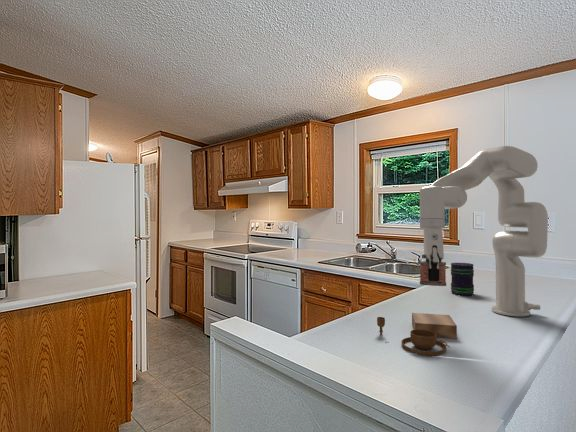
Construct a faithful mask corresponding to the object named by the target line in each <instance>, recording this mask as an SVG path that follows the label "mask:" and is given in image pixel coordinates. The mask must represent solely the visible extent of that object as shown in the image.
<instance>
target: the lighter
mask: <svg viewBox="0 0 576 432" xmlns="http://www.w3.org/2000/svg"><path fill="white" fill-rule="evenodd" d="M430 256H431V255H430ZM438 256H439V255H438ZM421 259H425V261H424V260H423V261H422V260H421V261H419V263H418V264H419V279H420V281H419V285H421V286H432V287H447V281H446V278H447V277H446V274H447V273H446V267H447V266H446V265H447V261H442V260H441V259H440V257H438V262H439V281H438V282H437V281H429V280H428V269H429V261H428V258H426V255H425V254H421ZM431 259H433V258H431ZM431 262H432V261H431Z"/></svg>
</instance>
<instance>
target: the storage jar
mask: <svg viewBox="0 0 576 432" xmlns="http://www.w3.org/2000/svg"><path fill="white" fill-rule="evenodd" d="M450 275H451V282H450V291H451V294H452V295H454V294H455V296H458V295H460V296H459V297H473V296H474V293H475V292H474V291H475V288H474V287H475V285H474V276H475V270H474V263H470V262H469V263H468V262H451V263H450ZM472 295H473V296H472Z"/></svg>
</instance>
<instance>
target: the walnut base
mask: <svg viewBox="0 0 576 432" xmlns="http://www.w3.org/2000/svg"><path fill="white" fill-rule="evenodd" d="M411 325H412V330H415V329H424V330H429V331H432V332H434V333H436V338H441V339H454V340H456V339H458V333H457V332H458V330H457V329H458V328H457V327H458V326H457V324H456V323H455V321H454V320H453V318H452V317H451V315H450V314H438V313H422V312H411Z"/></svg>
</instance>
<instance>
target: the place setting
mask: <svg viewBox="0 0 576 432" xmlns="http://www.w3.org/2000/svg"><path fill="white" fill-rule="evenodd" d="M376 324H377V326H378V327H379V336H383V333H384V331H383V328H384V327H385V325H386V319H385V317H383V316H378V317H376ZM409 334H410V336H408V337H405V338H403V339H402V340H401V345H402V348H403V349H404V350H406V351H408V352H409V353H412V354H414V355H419V356H423V357H437V356H439V355H444V353H445V352H446V351H447V347H448V348H451V346H450V345H448V343H447V342H446V341H444V340H442V339H441V340H440V339H439V340H437V337H436V333H434V332H432V331H429V330H424V329H415V330H414V329H412V330H410V333H409ZM407 343H411V344H412V345H413V346H415V348H413V347H409V346H407V345H406V344H407ZM384 344H388V341H385V342H384ZM436 346H439V347H440V348H441V350H435V351H434V350H433V351H430V350H432V349H433V348H434V347H436Z"/></svg>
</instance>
